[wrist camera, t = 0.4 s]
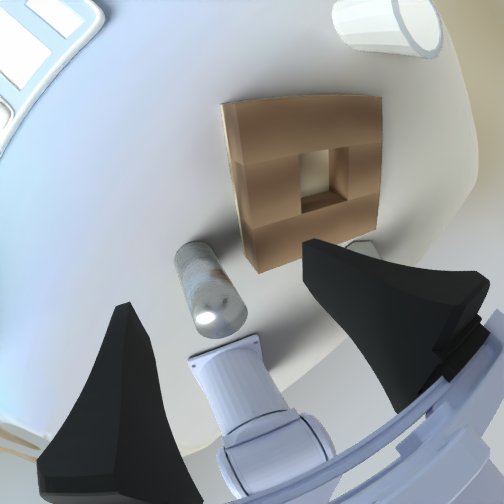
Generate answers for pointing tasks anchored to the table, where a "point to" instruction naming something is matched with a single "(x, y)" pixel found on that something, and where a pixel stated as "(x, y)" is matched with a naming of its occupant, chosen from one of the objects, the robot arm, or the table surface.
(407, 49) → the shot glass
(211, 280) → the pin
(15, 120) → the calculator
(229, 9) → the table surface
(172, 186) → the table surface
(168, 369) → the table surface
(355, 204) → the bore block
